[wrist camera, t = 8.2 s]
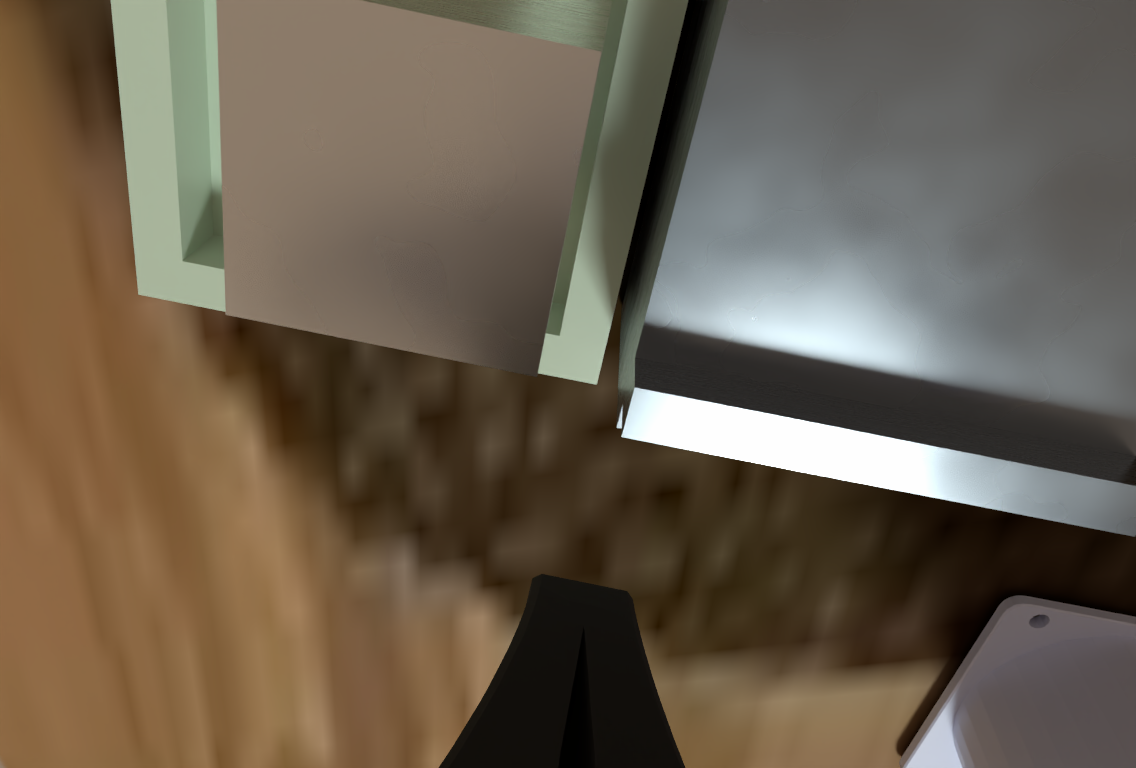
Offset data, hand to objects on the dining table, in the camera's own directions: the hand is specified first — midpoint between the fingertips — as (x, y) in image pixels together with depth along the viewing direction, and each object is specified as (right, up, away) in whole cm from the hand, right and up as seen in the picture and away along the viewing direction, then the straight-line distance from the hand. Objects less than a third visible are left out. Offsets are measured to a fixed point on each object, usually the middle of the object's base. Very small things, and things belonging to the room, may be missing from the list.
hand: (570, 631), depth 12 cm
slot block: (+7, +9, +5) cm, 12 cm away
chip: (-2, +8, +1) cm, 8 cm away
